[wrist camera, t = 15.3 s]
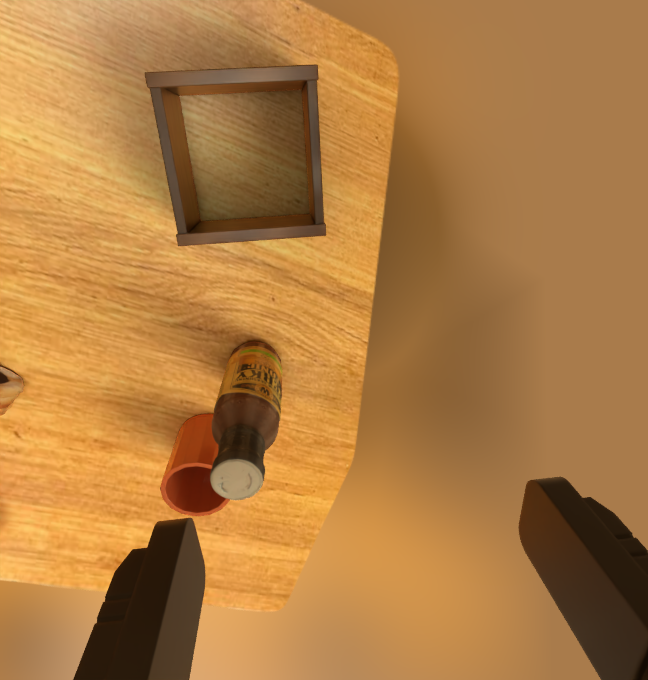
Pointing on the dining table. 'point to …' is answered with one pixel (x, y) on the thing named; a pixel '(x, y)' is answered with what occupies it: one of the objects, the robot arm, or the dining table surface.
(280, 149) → the dining table surface
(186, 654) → the robot arm
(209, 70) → the brown wooden box
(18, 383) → the pastry
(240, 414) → the sauce bottle
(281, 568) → the dining table surface
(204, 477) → the cup
